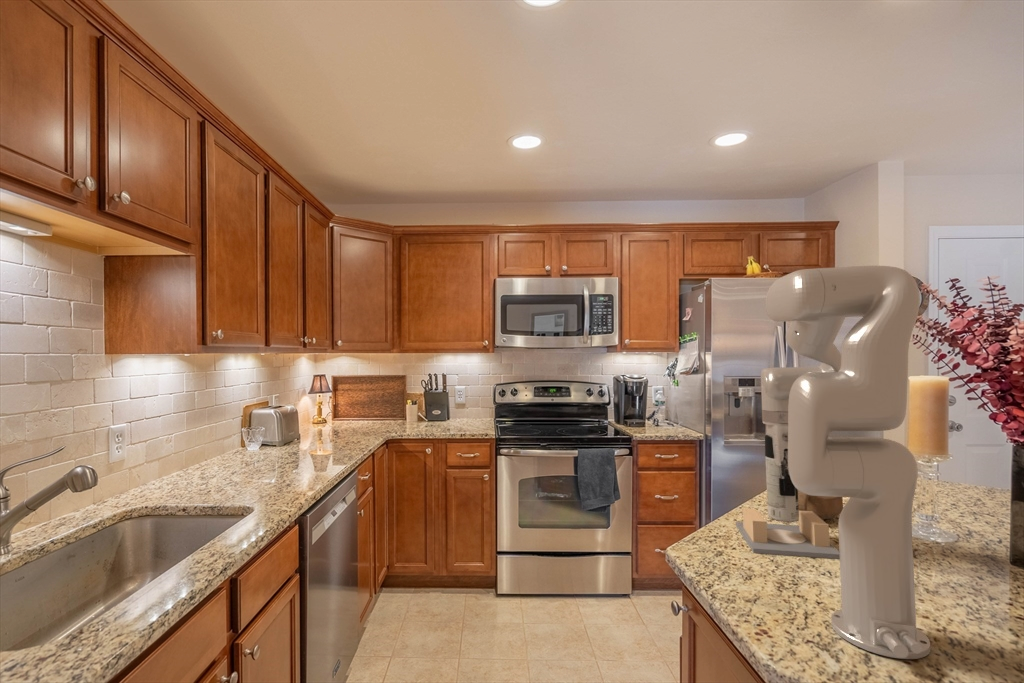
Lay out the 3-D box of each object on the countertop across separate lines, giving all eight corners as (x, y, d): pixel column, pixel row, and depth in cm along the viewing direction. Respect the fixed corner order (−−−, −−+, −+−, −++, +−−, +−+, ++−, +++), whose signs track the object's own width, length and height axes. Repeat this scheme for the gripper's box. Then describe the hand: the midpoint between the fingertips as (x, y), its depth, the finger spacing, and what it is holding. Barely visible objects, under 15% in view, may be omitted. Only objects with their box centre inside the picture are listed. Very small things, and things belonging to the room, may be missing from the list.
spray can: (803, 523, 112) (800, 438, 113) (772, 522, 113) (769, 437, 114) (793, 514, 119) (790, 433, 119) (763, 513, 120) (760, 433, 121)
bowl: (850, 528, 119) (834, 488, 121) (788, 533, 127) (775, 495, 129) (852, 509, 133) (838, 473, 135) (797, 514, 141) (784, 480, 143)
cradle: (842, 559, 105) (841, 531, 105) (753, 552, 109) (752, 526, 109) (811, 530, 122) (810, 506, 123) (735, 525, 127) (735, 502, 127)
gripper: (809, 422, 107) (813, 502, 107) (784, 413, 124) (787, 482, 124) (773, 422, 109) (776, 501, 109) (753, 413, 126) (756, 481, 125)
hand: (782, 490), depth 116 cm, fingers closed on spray can, 6 cm apart
